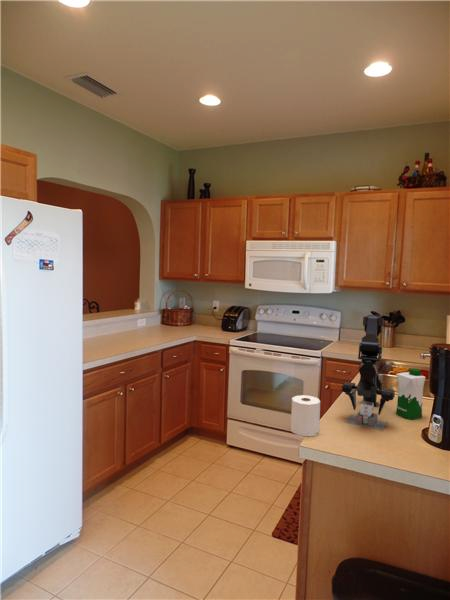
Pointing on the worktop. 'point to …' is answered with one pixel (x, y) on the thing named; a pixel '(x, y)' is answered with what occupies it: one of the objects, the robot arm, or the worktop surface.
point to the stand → (371, 422)
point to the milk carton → (410, 394)
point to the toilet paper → (305, 415)
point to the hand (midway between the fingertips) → (366, 412)
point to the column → (366, 411)
